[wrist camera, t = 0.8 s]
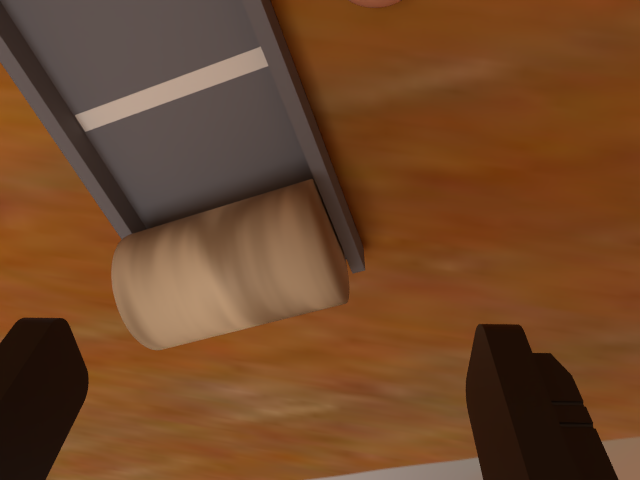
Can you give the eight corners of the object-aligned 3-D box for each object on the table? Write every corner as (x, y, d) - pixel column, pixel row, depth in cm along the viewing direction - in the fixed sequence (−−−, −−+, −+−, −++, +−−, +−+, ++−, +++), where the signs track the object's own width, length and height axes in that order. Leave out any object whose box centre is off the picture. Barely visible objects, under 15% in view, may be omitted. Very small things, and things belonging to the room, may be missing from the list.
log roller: (309, 157, 30) (303, 224, 24) (348, 252, 34) (350, 330, 28) (137, 211, 32) (94, 285, 26) (190, 294, 36) (163, 375, 30)
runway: (168, -271, 21) (117, -314, 16) (363, 247, 34) (368, 307, 30) (-94, -133, 23) (-204, -135, 18) (185, 295, 37) (162, 358, 32)
